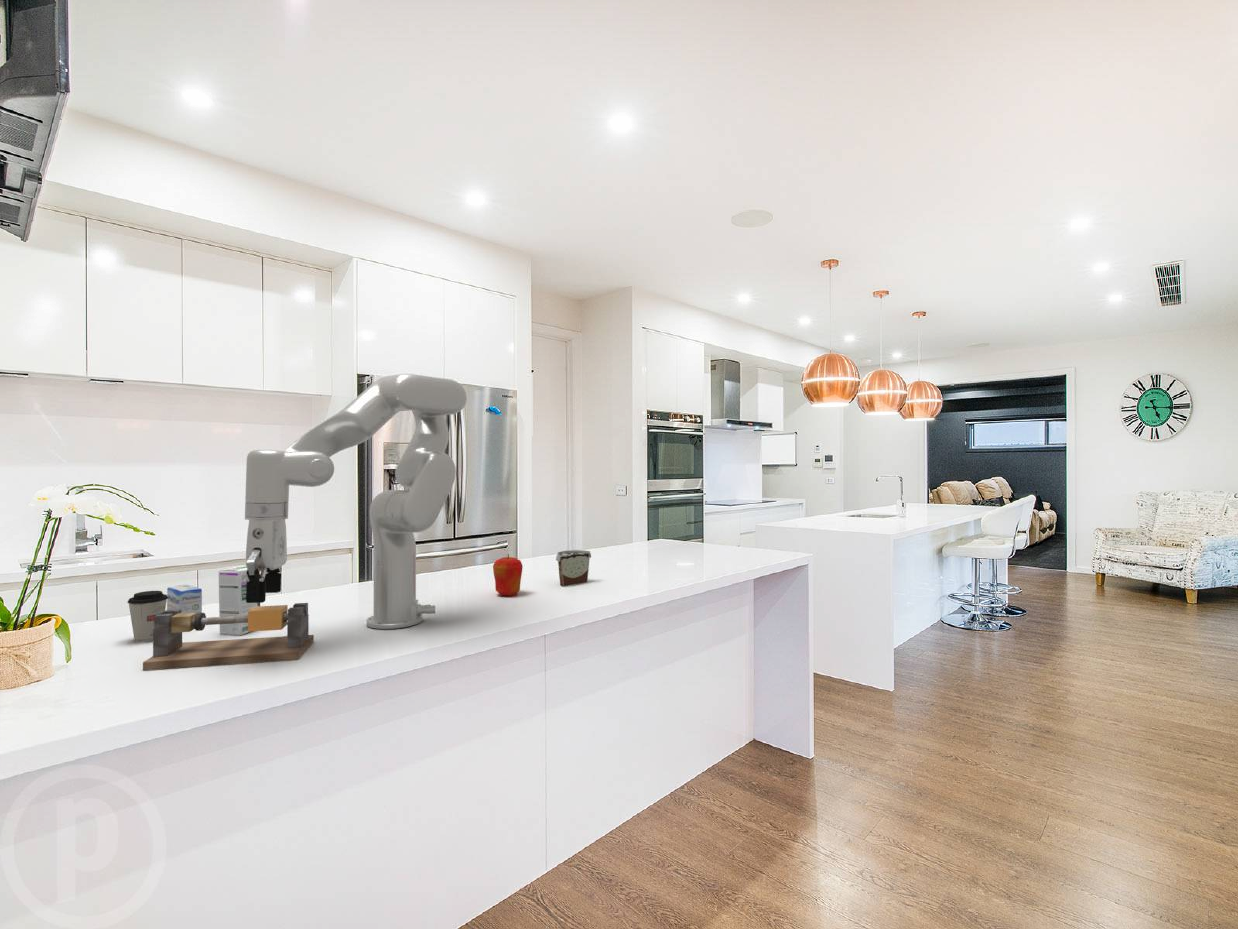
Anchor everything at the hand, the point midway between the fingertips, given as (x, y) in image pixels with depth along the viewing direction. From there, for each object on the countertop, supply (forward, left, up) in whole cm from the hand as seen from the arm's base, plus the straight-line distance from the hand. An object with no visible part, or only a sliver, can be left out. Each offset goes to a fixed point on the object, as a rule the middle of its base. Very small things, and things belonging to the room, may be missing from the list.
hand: (264, 597), depth 120 cm
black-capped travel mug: (+27, -17, -12) cm, 34 cm away
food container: (-71, -54, -12) cm, 90 cm away
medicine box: (+25, -28, -12) cm, 40 cm away
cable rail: (+5, 0, -11) cm, 13 cm away
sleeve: (-1, 0, -6) cm, 6 cm away
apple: (-51, -42, -12) cm, 67 cm away
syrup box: (+10, -18, -12) cm, 24 cm away
